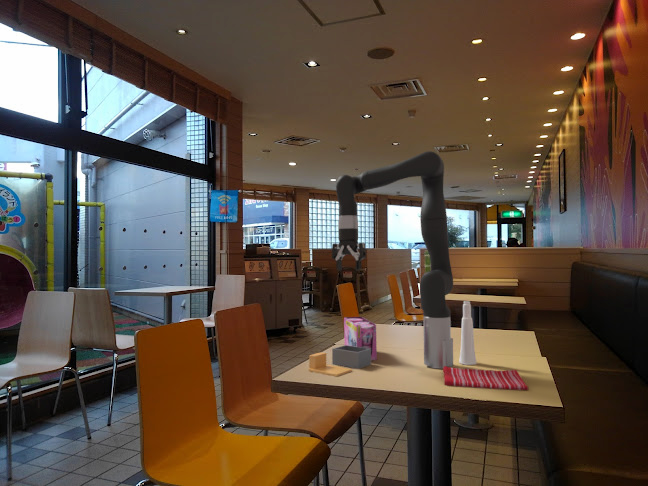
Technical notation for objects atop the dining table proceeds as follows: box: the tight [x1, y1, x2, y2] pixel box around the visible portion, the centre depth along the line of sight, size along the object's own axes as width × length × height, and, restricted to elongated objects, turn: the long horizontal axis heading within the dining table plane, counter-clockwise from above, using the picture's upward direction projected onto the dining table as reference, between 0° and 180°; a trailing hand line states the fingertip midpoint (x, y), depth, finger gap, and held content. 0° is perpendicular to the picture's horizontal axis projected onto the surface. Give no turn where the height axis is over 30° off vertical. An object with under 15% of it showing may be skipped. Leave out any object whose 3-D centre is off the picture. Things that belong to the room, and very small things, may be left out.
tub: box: [331, 344, 372, 370], centre depth 162 cm, size 11×8×6 cm
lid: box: [308, 351, 353, 378], centre depth 153 cm, size 12×9×6 cm
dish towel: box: [442, 366, 529, 391], centre depth 142 cm, size 17×24×3 cm
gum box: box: [343, 316, 378, 361], centre depth 178 cm, size 24×8×14 cm, turn 9°
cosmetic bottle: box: [458, 300, 478, 366], centre depth 165 cm, size 6×6×22 cm
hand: (348, 270), depth 175 cm, fingers open, 8 cm apart
